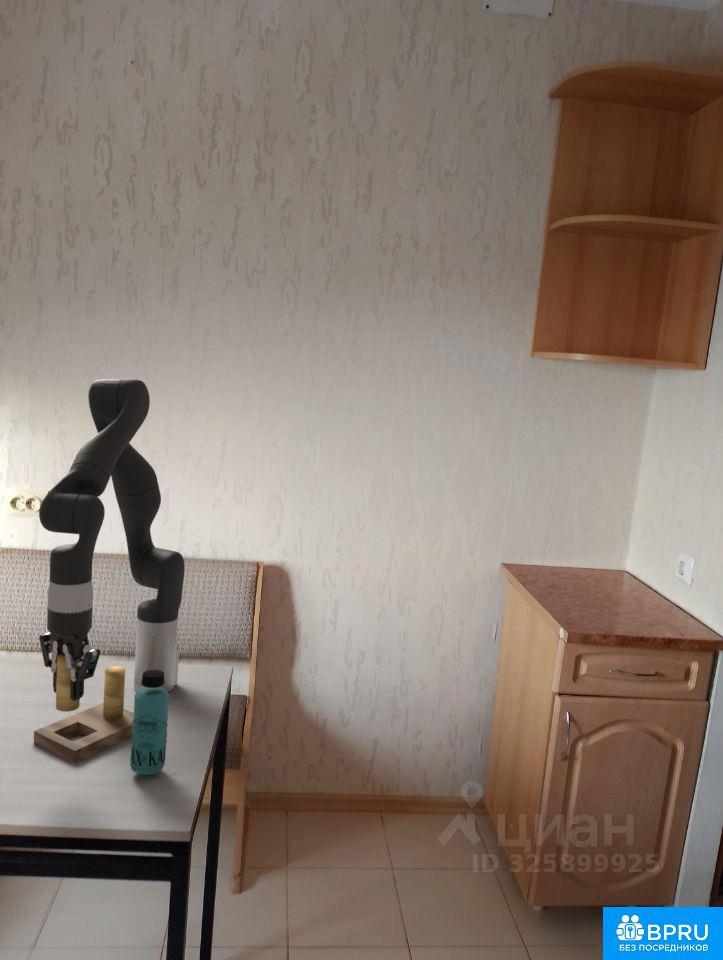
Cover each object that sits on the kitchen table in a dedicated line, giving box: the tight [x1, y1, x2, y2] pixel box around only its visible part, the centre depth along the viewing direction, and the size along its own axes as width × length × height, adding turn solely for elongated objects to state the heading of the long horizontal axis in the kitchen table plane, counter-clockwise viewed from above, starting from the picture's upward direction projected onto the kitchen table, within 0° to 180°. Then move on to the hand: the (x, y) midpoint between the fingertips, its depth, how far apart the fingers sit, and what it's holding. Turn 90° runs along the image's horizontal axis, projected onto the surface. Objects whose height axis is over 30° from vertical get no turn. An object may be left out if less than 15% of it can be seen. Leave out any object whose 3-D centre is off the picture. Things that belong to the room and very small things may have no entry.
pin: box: [55, 654, 81, 713], centre depth 142 cm, size 4×4×10 cm
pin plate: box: [33, 665, 134, 764], centre depth 159 cm, size 18×12×12 cm, turn 149°
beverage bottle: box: [129, 670, 170, 775], centre depth 147 cm, size 6×7×20 cm
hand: (68, 694), depth 143 cm, fingers closed on pin, 4 cm apart
